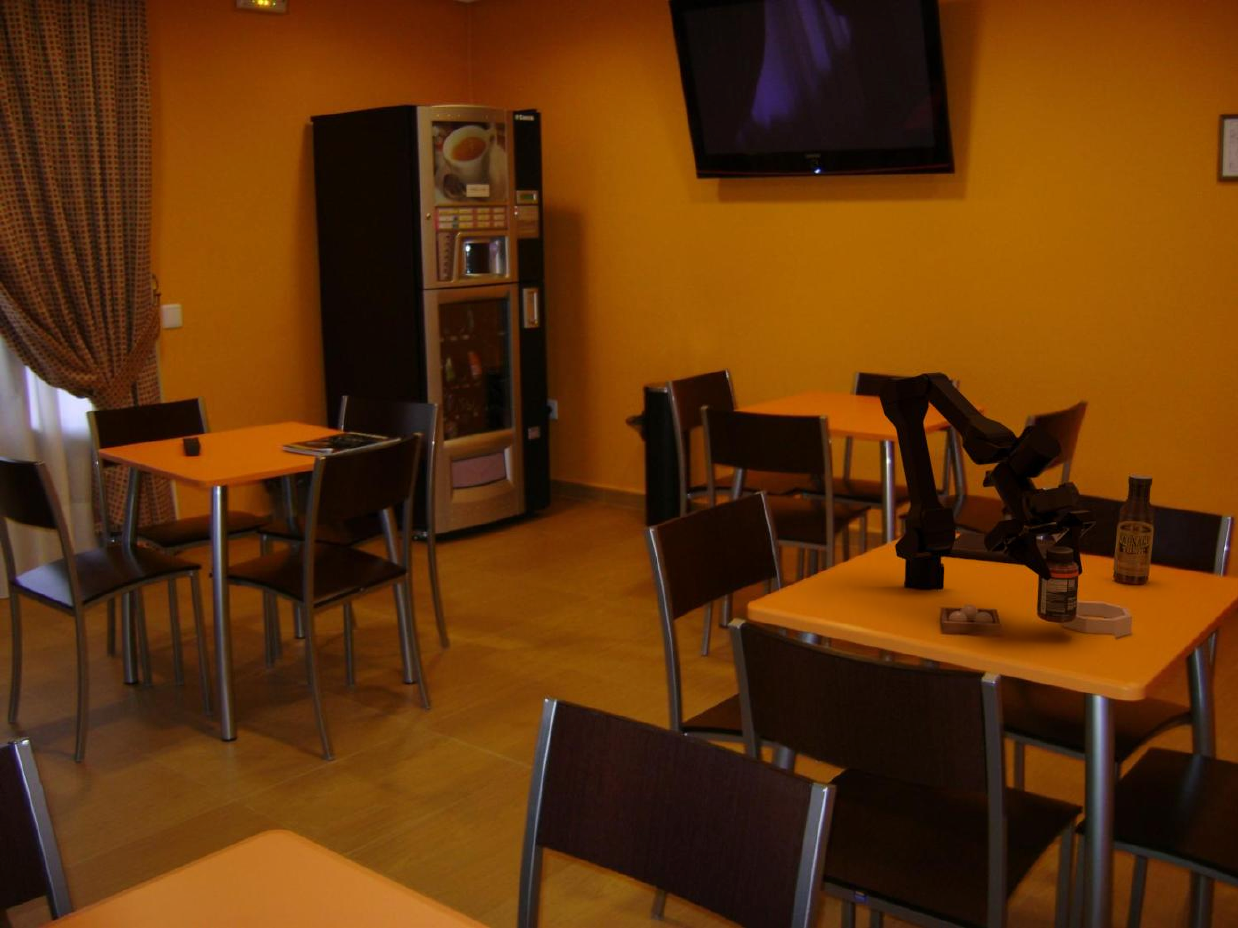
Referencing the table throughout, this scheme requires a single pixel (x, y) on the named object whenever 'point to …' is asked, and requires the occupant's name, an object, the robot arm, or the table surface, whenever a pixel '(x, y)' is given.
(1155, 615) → the table surface
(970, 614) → the pebble
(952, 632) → the pebble tray
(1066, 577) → the supplement bottle
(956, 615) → the pebble
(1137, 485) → the sauce bottle
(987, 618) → the pebble
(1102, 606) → the dish
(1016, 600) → the table surface
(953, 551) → the hardcover book
